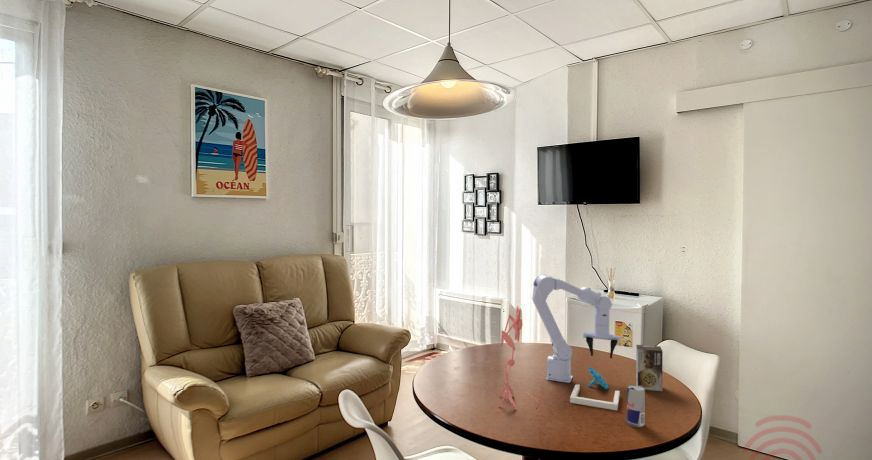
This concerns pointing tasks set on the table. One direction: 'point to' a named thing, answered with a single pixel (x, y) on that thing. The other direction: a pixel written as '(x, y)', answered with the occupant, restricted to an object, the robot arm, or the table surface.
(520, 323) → the figurine
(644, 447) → the table surface
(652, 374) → the coffee box
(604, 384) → the gear
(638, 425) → the energy drink
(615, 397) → the bracket
